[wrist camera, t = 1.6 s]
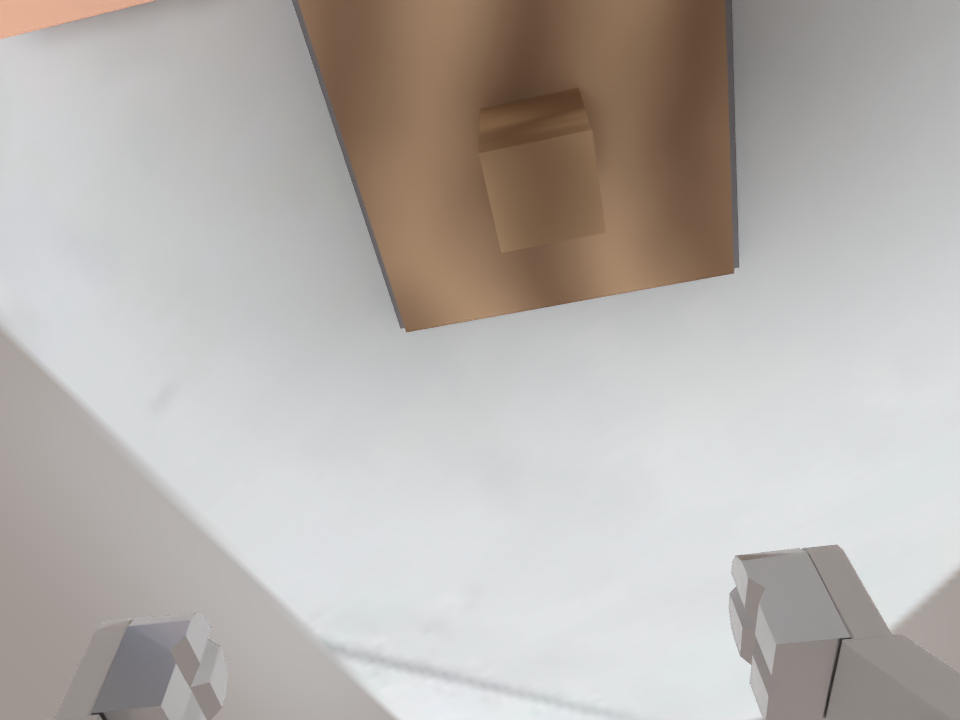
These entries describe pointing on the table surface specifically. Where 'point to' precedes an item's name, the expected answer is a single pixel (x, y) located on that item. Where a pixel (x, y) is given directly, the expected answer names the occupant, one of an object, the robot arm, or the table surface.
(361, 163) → the lid
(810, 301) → the table surface
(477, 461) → the table surface
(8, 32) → the pink shallow box
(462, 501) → the table surface
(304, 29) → the mat
